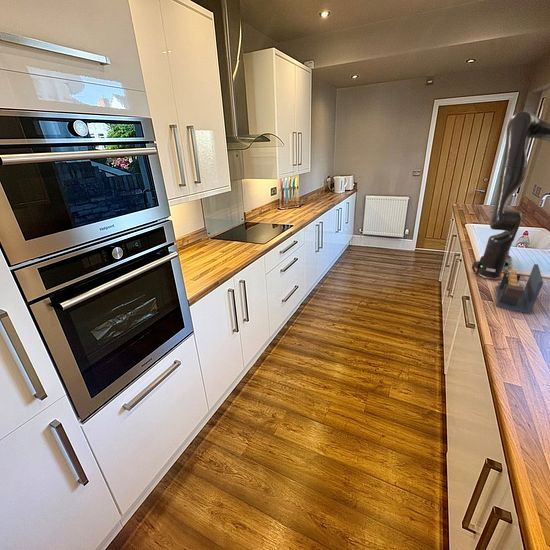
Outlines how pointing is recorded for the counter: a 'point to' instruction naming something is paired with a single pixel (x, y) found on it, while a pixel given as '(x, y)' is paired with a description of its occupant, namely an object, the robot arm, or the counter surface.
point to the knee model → (508, 263)
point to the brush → (513, 286)
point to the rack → (527, 297)
